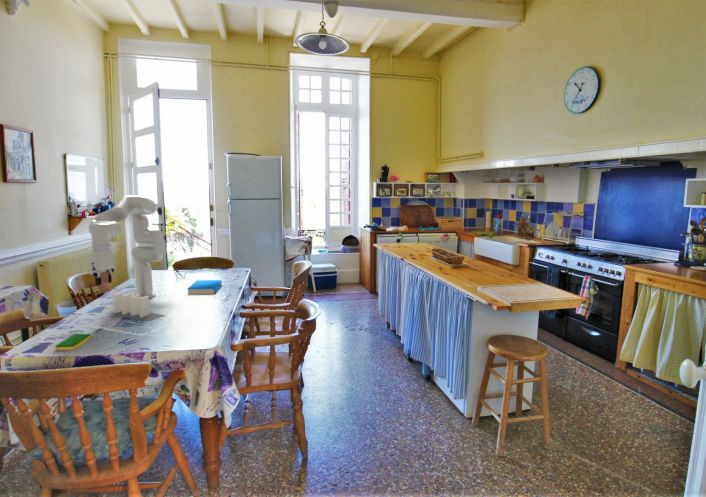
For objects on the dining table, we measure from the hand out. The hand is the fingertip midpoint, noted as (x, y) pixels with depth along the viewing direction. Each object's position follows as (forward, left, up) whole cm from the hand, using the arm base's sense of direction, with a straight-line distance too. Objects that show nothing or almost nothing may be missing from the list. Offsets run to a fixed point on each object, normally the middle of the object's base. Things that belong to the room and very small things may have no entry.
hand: (103, 283), depth 207 cm
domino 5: (+14, +11, -18) cm, 25 cm away
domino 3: (+2, +11, -18) cm, 21 cm away
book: (+1, +72, -20) cm, 75 cm away
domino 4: (+8, +11, -18) cm, 23 cm away
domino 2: (-4, +11, -18) cm, 22 cm away
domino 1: (0, 0, -5) cm, 5 cm away
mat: (+8, +11, -19) cm, 24 cm away
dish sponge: (+16, -28, -20) cm, 38 cm away
